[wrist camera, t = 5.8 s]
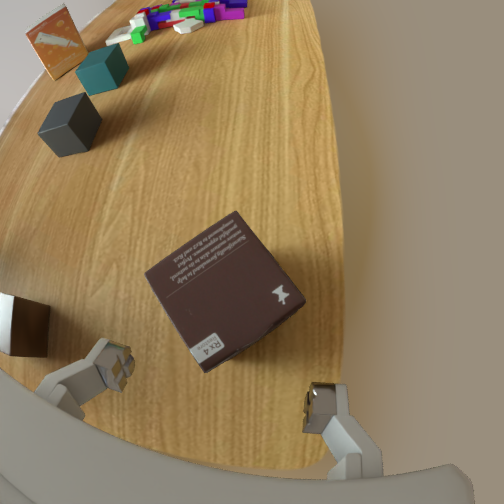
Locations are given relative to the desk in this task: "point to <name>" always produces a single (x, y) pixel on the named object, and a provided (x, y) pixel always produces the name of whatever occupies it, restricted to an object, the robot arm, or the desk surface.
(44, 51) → the small box
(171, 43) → the desk surface
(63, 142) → the slate block
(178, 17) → the building block set
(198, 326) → the box
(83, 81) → the teal block
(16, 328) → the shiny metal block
